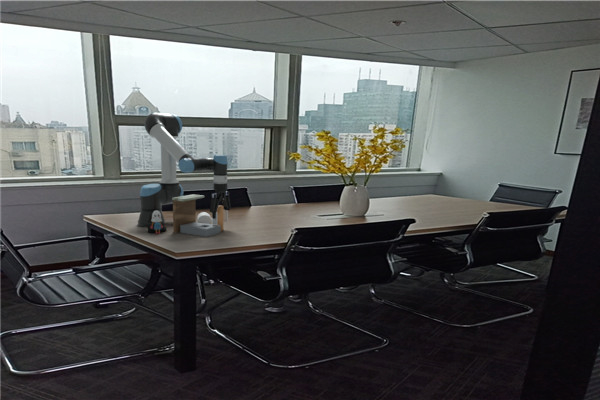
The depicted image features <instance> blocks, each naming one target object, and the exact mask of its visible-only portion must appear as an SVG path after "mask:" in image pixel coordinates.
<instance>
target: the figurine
mask: <svg viewBox="0 0 600 400" xmlns="http://www.w3.org/2000/svg"><path fill="white" fill-rule="evenodd" d="M151 221H153V222H152V226H151V227H147V234H151V235H161V234H165V233H166V232H167V227H166V226H164V225H162V224H161V221H162V219H161V213H160V212H159V211H157V210H156V211H154V212H153V214H152V220H151ZM154 222H156V223H155V225H154V226H153V224H154Z"/></svg>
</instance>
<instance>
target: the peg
mask: <svg viewBox="0 0 600 400" xmlns="http://www.w3.org/2000/svg"><path fill="white" fill-rule="evenodd" d="M224 210H225V209H224V206H223V205H218V209H217V212H216V213H217V225H220V232H223V231H224V225H225V223H224V222H225V221H224Z"/></svg>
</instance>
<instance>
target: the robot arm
mask: <svg viewBox="0 0 600 400" xmlns="http://www.w3.org/2000/svg"><path fill="white" fill-rule="evenodd" d="M143 125H144V129H145V131H146V133H147V134H148V135H149V136H150V138H153V139H155V140H156V141H157V142H158V143H159V144H160V161H161V162H160V163H161V165H160V166H161V179H160V181H158V183H149V184H144V185H141V187H140V191H139V196H140V197H139V198H140V199H139V200H140V201H139V202H140V213H139V217H138V220H137V226H139V227H143V228H144V227H145V228H148V227H151V226H152V222H153V221H151V220H152V214H153V212H154V211H156V210H157V211H159V212H160V213H161V219H162V221H161V224H162V226H164V225H166V220H165V218H164V214H163V211H162V209H163V208H162V206H165V205H173V200H172V198H174V197H180V196H184V189H183V186H182V185H181V184H180V181H179V180H178V179H177V166H178V169H179V170H180V172H181V173H187V174H189V173H197V172H198V173H199V172H213V190H214V193H211V195H210V199H211V200H210V206H209V212H210V213H211V216H212V217H211V218H213V223H212V224H214V225H217V209H218V206H220V202H221V203H222V206H224V222H226V223H227V222H229V211H231V210H230V209H231V199H230V198H231V197H230V191H227V190H228V162H229V161H228V156H227V155H226V154H214V155H213V157H206V156H205V157H203V156H202V157H193V156H192V155H191V154H190V153H189V152H188V151H187V150H186V149H185V148H184V147H183V146H182V145H181V144H180V143H179V142H178V140H177V139H178V138H179V133H181V132H182V131H183V122H182V120H181V118H180V117H179V115H176V114H174V113H167V112H166V113H164V112H152V113H150V114H148V115H146V117H145V119H144V124H143ZM177 164H178V165H177ZM155 223H156V222H154V224H153V226H154V225H155Z"/></svg>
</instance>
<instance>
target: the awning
mask: <svg viewBox="0 0 600 400" xmlns="http://www.w3.org/2000/svg"><path fill="white" fill-rule="evenodd" d="M203 198H205V195H202V194H201V195H200V194H193V193H192V194H188V195H187V194H186V195H183V196H180V197H174V198H172V200H173V204H172V219H173V220H172V223H173V224H172V227H173V228H172V229H173V230H172V232H173V233H175V234H178V233H180V225H184V224H188V223H192V222H197V217H196V200H198V199H203Z"/></svg>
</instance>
